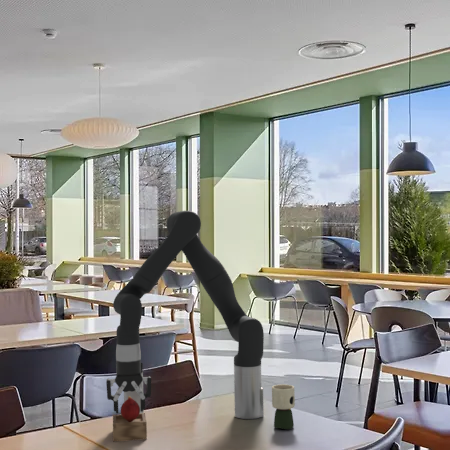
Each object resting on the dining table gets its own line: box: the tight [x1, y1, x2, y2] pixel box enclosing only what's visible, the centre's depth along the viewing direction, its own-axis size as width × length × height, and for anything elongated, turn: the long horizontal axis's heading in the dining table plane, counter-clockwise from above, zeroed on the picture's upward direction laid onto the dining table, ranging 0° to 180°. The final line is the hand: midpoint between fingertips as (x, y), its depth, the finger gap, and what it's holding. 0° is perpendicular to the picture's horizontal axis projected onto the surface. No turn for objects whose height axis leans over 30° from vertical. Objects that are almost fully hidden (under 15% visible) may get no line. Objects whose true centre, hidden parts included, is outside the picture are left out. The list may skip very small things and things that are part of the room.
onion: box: [120, 396, 140, 422], centre depth 199 cm, size 6×6×8 cm
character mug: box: [271, 384, 296, 430], centre depth 204 cm, size 11×7×13 cm, turn 169°
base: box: [112, 412, 148, 443], centre depth 199 cm, size 10×10×5 cm
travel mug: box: [123, 362, 145, 413], centre depth 211 cm, size 6×7×20 cm
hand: (129, 411), depth 199 cm, fingers open, 7 cm apart
